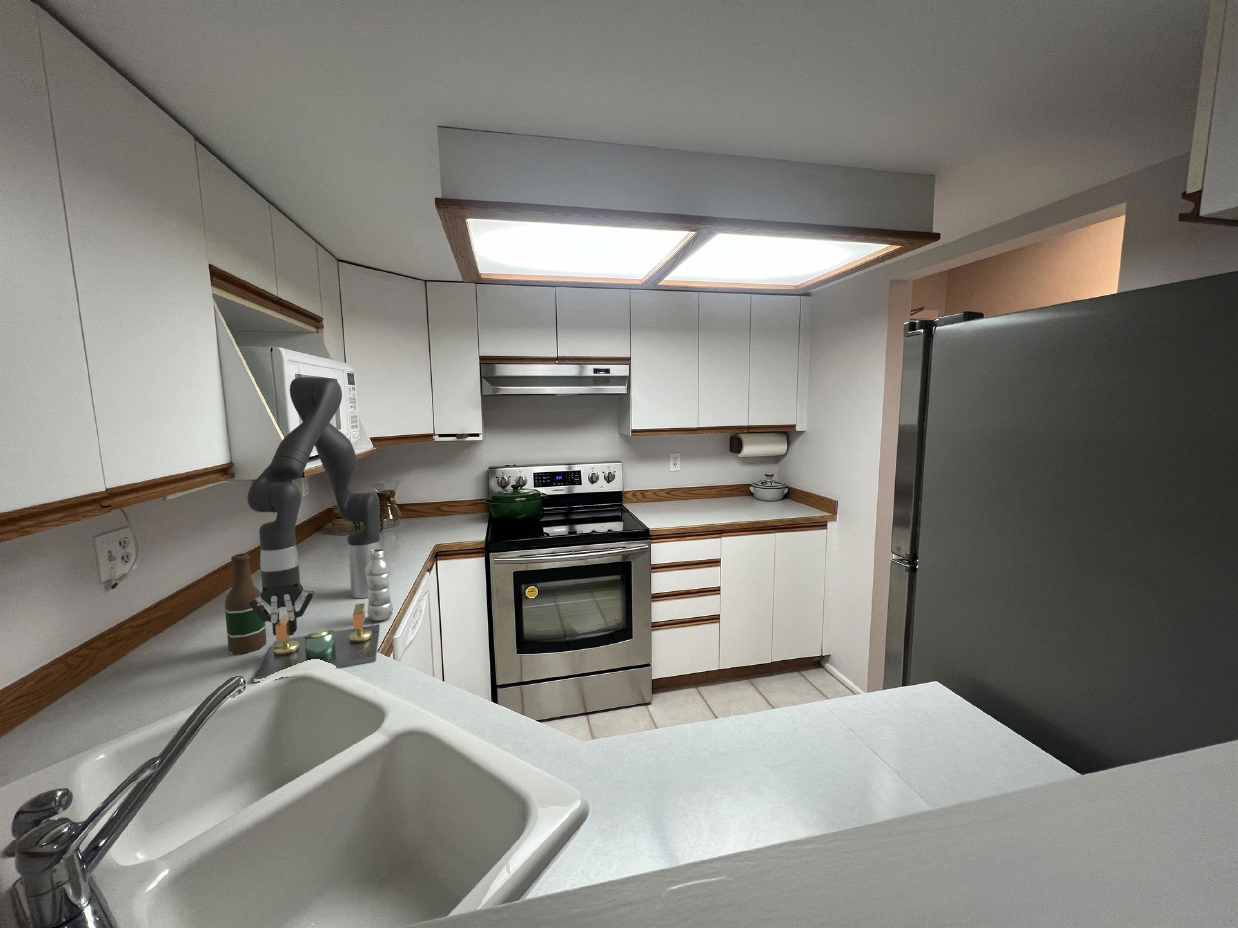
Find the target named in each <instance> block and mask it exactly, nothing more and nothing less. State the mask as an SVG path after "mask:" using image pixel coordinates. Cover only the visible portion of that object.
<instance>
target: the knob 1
mask: <svg viewBox="0 0 1238 928" xmlns="http://www.w3.org/2000/svg"><path fill="white" fill-rule="evenodd" d="M288 621H289V617H288V613H285V614H282V615H281V617H280V618H279V622H278V624H277V625H276V626H275V627H276V635H275V638H276V639H275V641H276V640H277V641H283V643H281V644H278V645H276V646H275V647H274V648H273V649H274V654H276V655H284V654H289V653H292V652H294V651H296V650H298V649H299V642H297V641H290V640H289V638H290V636H289V623H288Z"/></svg>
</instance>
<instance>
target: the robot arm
mask: <svg viewBox="0 0 1238 928" xmlns="http://www.w3.org/2000/svg"><path fill="white" fill-rule="evenodd" d="M289 396H290V400H291V403H292V405H293V407H294V410H296V412H297V414H298V416H299V418H300V419H301V421H302V423H300V424H298V426H296V427H295V428H293V429H292V431H290V432H289V433H288V434H286V436H285V437H284V438H283V439H282V440H281V441H280V443H279V445H278V447H277V449H276V450H275V453H274V455H273V457H272V460H271V462H270V464H269V465H268V466H267V467H265V469H264V470H263V471H262V472H261V473H260V475H259V476H258V477H257V478H256V479H255V481H253V483H252V484H251V486H250V488H249V490H248V493H247V499H246V500H247V504H248V507H249V508H250V509H252V511H254V512H256V513H276V517H275V519H274V520H273V521H268V522H266V523H263V524H262V525H260V527H259V532H258V533H259V545H260V555H259V562H260V563H259V568H260V572H261V573H260V576H261V587H262V589H261V592H260V593H261V594H260V596H258V597H257V598H253V599H252V600H251V601H250V603H249V606H250V607H251V608H252V609H253V610H254V612H255V613H256V614H257V615H258V616H259V618H260V619H261V620H262V621H263V622H265V623H266V622H269V623H271V625H272V635H273V636H275V637H276V627H275V626H276V625H277V624H278V622H279V620H280V610H281V608H285V609H286V612H287V614H288V617H289V621H288V623H289V637H291V636H294V634H295V633H296V632H297V630H298V620H297V619H298V618H302V617H303V615H304V614H305V611H306V610H307V608H308V606H309V605H310V603H311V601H312V599H313V597H314V596H315V595H314V594H315V591H314V590H310V591H309V590H306V589H304V588H303V586H302V583H301V576H300V565H299V561H300V560H299V551H298V548H297V540H296V525H297V521H298V516H299V511H300V508H301V503H302V492H301V490H300V489H299V487H298V486H297V485H296V483H293V482H291V481H296V480H298V479H300V478H301V477H302V475H303V474H304V472H305V469H306V466H307V464H308V462H309V459H310V456H311V454H312V452H313V449H314V448H315V449H316V453H317V455H318V457H319V461H320V462H321V465H322V467H323V469H324V471H325V473H326V475H327V478H328V479H329V480H328V481H329V483H330V485H331V487H332V491H333V494H334V495H333V496H334V497H335V501H336V504H337V508H338V510H339V511H338V512H339V513H340V516H341V518H342V519H343V520H344V521H345V522H350V523H354V522H355V523H358V522H359V523H360V522H361V523H362V522H363V523H364V527H362V528H361V529H359V530H356V531H354V532H351V533H350V534H348V536H347V548H348V549H347V550H348V564H349V566H348V567H349V579H350V594H351V597H352V598H355V599H366V598H369V591H368V583H367V579H366V574H365V567H366V566H367V564H368V562H369V561H370V558H369V556H370V553H369V552H370V551H371V550H375V549H381V539H380V537H381V536H380V534H381V533H380V532H381V523H380V522H381V521H380V520H381V518H380V516H381V511H380V510H381V506H380V499H379V495H377V494H376V493H374V492H352V489H351V488H350V483H351V481H352V479H353V477H354V474H355V473H356V470H357V467H358V458H357V457H358V456H357V454H356V452H355V449H354V445H353V444H352V442H351V441H350V439H349V438H348V437H347V436H346V435H345V434H344V433H342V431H340V430H339V429H338V428H337V427H335V426H334V425H333V424H332V423H331V421H332V420H333V418H334V416H335V415H336V413H337V412H338V409H339V408H340V407H341V404H342V403H341V402H342V398H343V390H342V388H341V385H340V383H339V382H338V380H336V379H334V378H330V377H316V376H314V377H311V376H307V377H306V376H302V377H301V376H300V377H299V376H298V377H296V378H294V379H292V380H291V382H290V385H289ZM300 596H302V598H301V599H302V600H303V603H302V605H301V606H300V608H299V610H297V608H296V601H297V600H298V599H299V597H300ZM262 599H263V601H262ZM264 602H265V603H266V604H267V605H268V606H269V607H270V612H268V610H267V609H266V607H265V605H264V606H263V605H262V604H263V603H264Z"/></svg>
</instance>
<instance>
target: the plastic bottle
mask: <svg viewBox="0 0 1238 928" xmlns="http://www.w3.org/2000/svg"><path fill="white" fill-rule="evenodd" d="M369 553H370V556H369V558H370V561H369V562H368V564H367V566H366V567H365V574H366V579H367V583H368V591H369V597H368V603H367V610H366V611H367V616H368V618H369V620H370V621H372V622H373V621H374V622H381V621H385V620H389V618H391V617H392V615H393V614H394V613H393V612H394V607H393V603H392V599H391V593H390V574H391V566H390V564H389V562H388V561H387V560H386V559H385V558H384V557H385V551H384V549H383V548H382V549H381V548H380V549H375V550H371V551H370V552H369Z"/></svg>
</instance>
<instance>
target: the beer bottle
mask: <svg viewBox="0 0 1238 928" xmlns="http://www.w3.org/2000/svg"><path fill="white" fill-rule="evenodd" d="M249 559H251V557H250V555H249V554H248V553H238V554H235V555H232V556H231V558H230V561H232V585H231V586H232V587H231V589H230V590H229V591H228V594H227V595H226V599H225V600H224V601H225V602H224V613H225V625H226V634H227V645H228V650H229V652H230V653H231V652H232V653H231V654H233V655H247V654H250V653H253V652H256V650H257V651H259V650H261V649H262V648H264V647H265V646H266V644H267V629H266V628H267V627H266V622H263V621H262V620H261V619H260V618H259V616H258V615H257V614H256V613H255V612H254V610H253V609H252V608H251V607H250V606H249V603H250V601H251V600H252V599H253V598H257V597H258V596H260V594H261V592H260V589H258V587H256V586H255V585H254V581H253V579H252V572H251V567H250V561H249ZM262 601H263V604H262V605H263V606H264V607H265V605H264V600H263V599H262ZM249 652H250V653H249Z"/></svg>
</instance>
